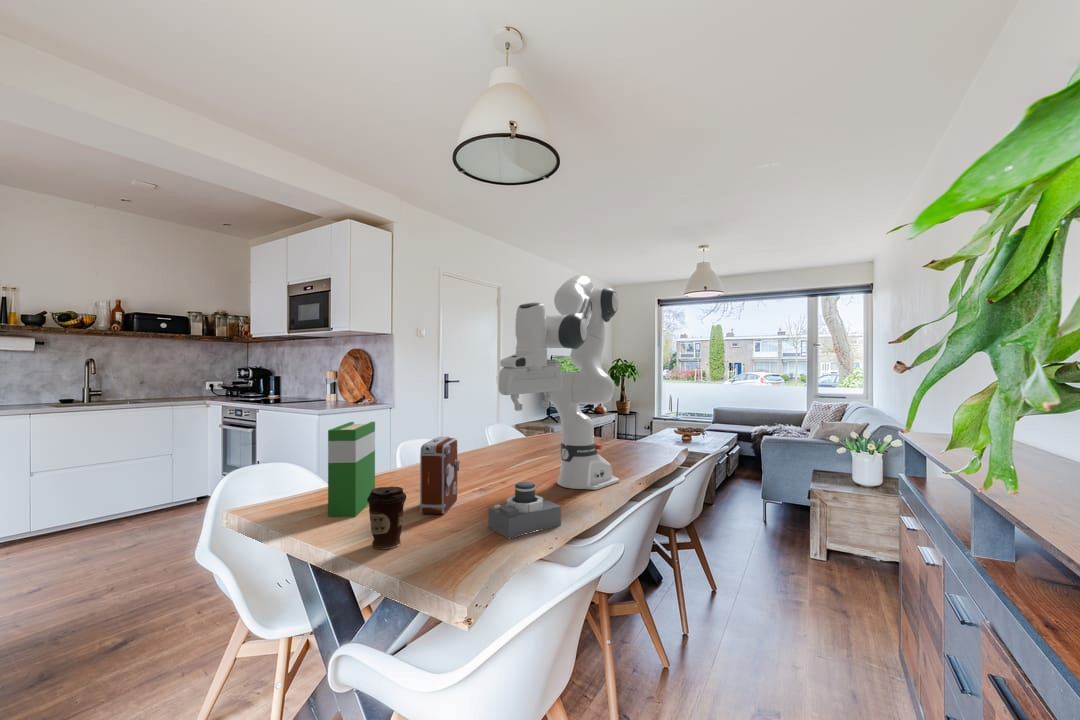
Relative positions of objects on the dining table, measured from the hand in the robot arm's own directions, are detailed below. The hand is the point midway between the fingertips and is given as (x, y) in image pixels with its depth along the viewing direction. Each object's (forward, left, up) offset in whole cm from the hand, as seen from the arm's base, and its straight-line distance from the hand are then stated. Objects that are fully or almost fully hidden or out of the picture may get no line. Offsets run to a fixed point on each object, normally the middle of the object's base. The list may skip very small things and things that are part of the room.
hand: (532, 408), depth 130 cm
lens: (+8, +7, -24) cm, 27 cm away
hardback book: (+40, -36, -30) cm, 61 cm away
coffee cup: (+41, -2, -30) cm, 50 cm away
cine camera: (+18, -22, -30) cm, 41 cm away
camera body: (+8, +7, -29) cm, 31 cm away
